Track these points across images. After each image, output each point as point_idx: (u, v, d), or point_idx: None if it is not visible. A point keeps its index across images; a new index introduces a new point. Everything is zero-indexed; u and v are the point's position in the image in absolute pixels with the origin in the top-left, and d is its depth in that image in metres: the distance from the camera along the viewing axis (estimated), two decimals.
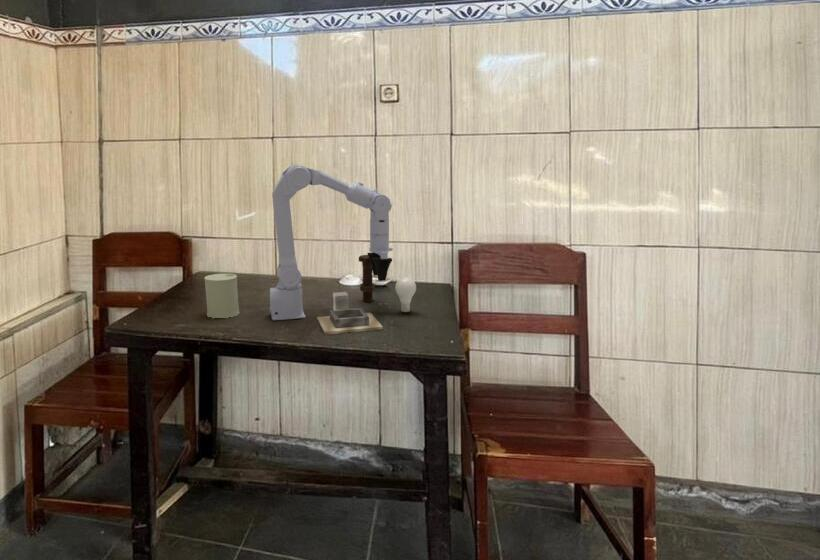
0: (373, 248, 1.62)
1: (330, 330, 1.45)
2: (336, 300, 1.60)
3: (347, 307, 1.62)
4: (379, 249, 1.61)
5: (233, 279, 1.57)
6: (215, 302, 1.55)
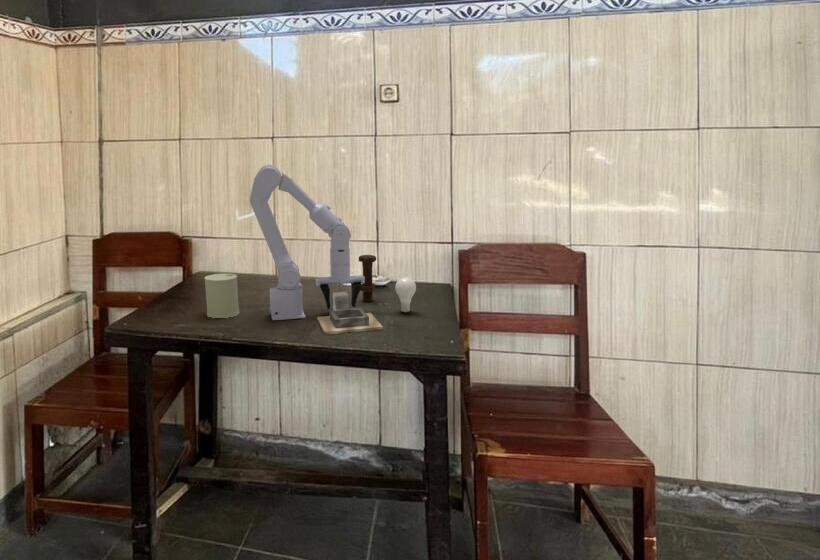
0: None
1: (330, 330, 1.45)
2: (336, 300, 1.60)
3: (347, 307, 1.62)
4: (330, 277, 1.61)
5: (233, 279, 1.57)
6: (215, 302, 1.55)
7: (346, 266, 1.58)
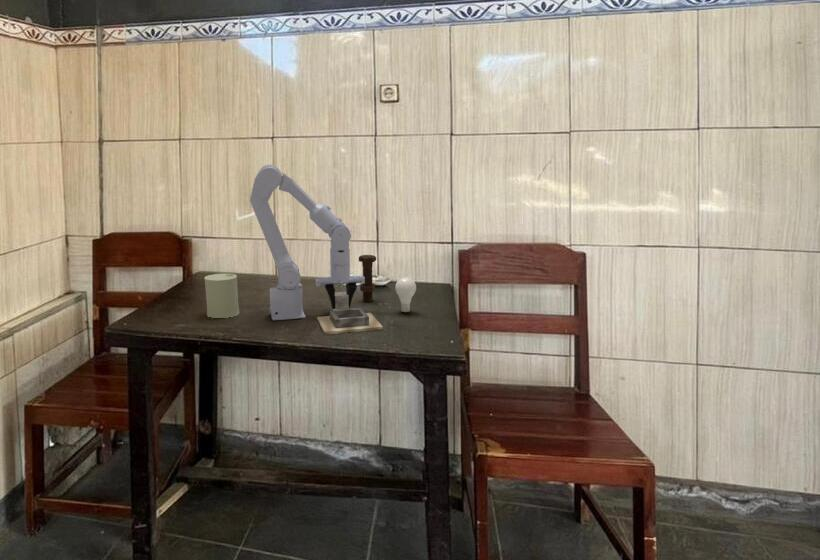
0: None
1: (330, 330, 1.45)
2: (336, 300, 1.60)
3: (347, 307, 1.62)
4: (330, 277, 1.61)
5: (233, 279, 1.57)
6: (215, 302, 1.55)
7: (346, 266, 1.58)
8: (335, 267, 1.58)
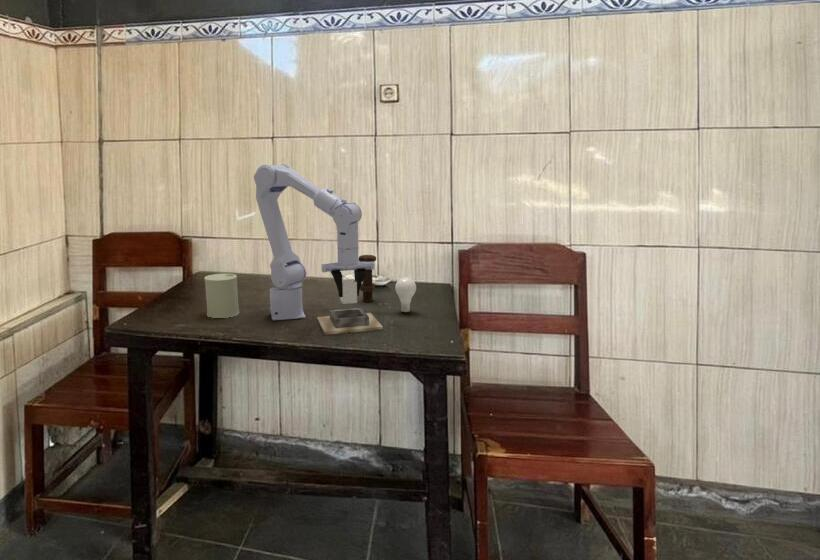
0: None
1: (330, 330, 1.45)
2: (343, 287, 1.48)
3: (355, 295, 1.49)
4: (337, 263, 1.48)
5: (233, 279, 1.57)
6: (215, 302, 1.55)
7: (354, 251, 1.46)
8: (343, 251, 1.45)
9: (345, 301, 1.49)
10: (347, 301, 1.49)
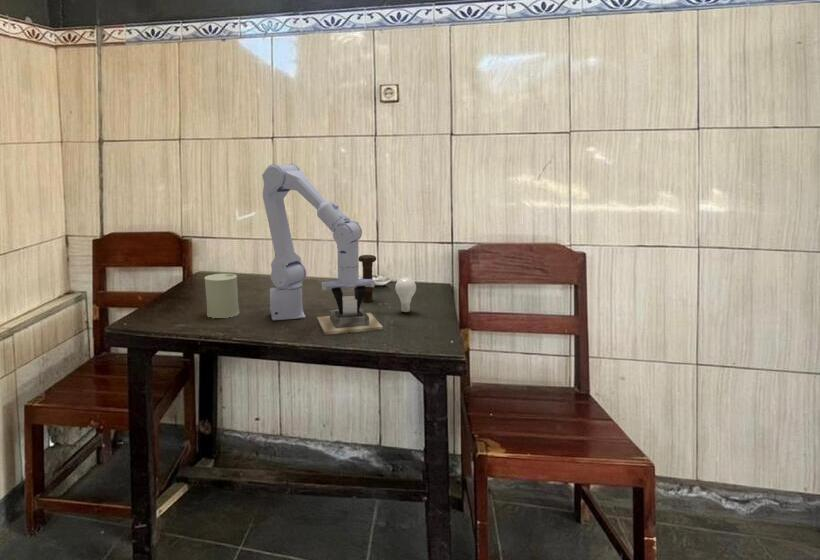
0: None
1: (330, 330, 1.45)
2: (344, 305, 1.49)
3: (355, 312, 1.51)
4: (338, 280, 1.49)
5: (233, 279, 1.57)
6: (215, 302, 1.55)
7: (355, 269, 1.47)
8: (343, 269, 1.46)
9: None
10: None
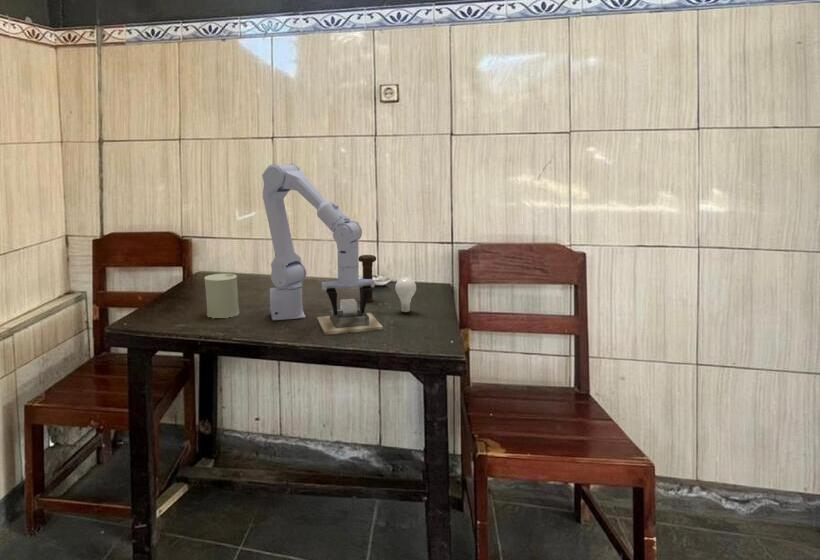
0: None
1: (330, 330, 1.45)
2: (344, 308, 1.49)
3: (355, 315, 1.51)
4: (338, 280, 1.49)
5: (233, 279, 1.57)
6: (215, 302, 1.55)
7: (355, 269, 1.47)
8: (343, 269, 1.46)
9: None
10: None
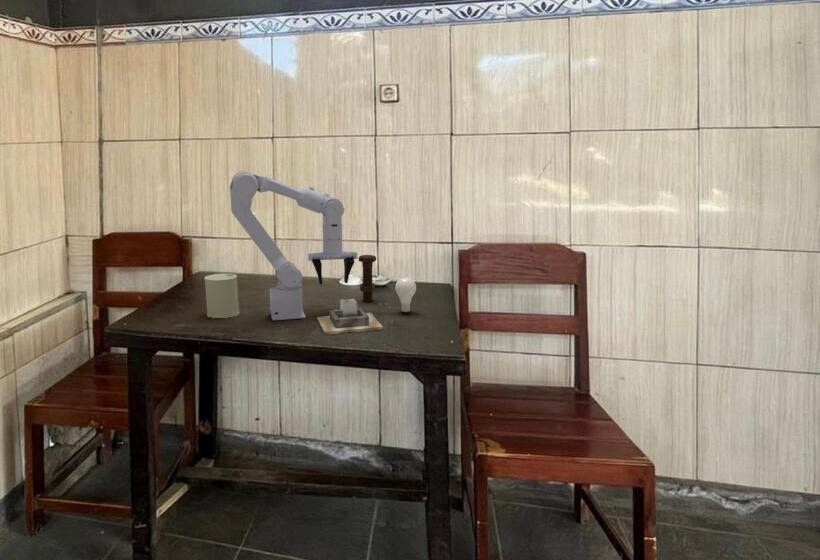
0: None
1: (330, 330, 1.45)
2: (344, 308, 1.49)
3: (355, 315, 1.51)
4: (323, 252, 1.60)
5: (233, 279, 1.57)
6: (215, 302, 1.55)
7: (338, 241, 1.58)
8: (327, 241, 1.57)
9: None
10: None
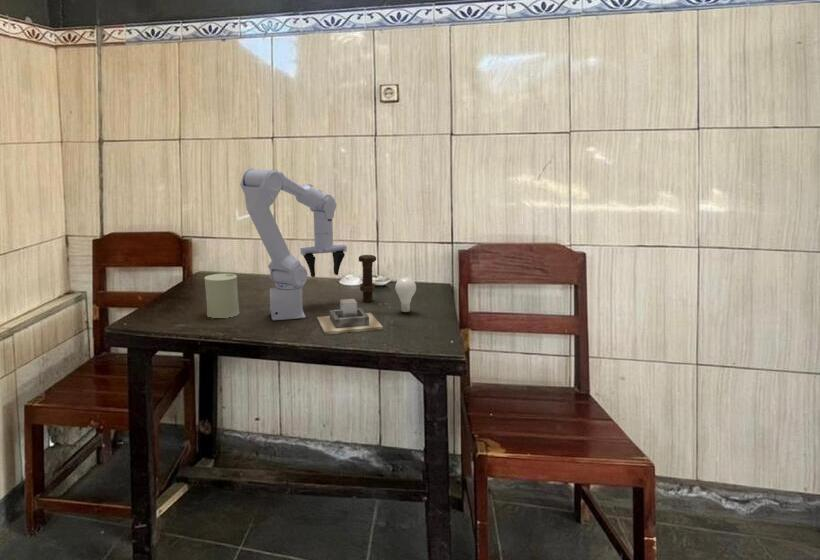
0: None
1: (330, 330, 1.45)
2: (344, 308, 1.49)
3: (355, 315, 1.51)
4: (314, 246, 1.68)
5: (233, 279, 1.57)
6: (215, 302, 1.55)
7: (330, 235, 1.66)
8: (320, 236, 1.65)
9: None
10: None
